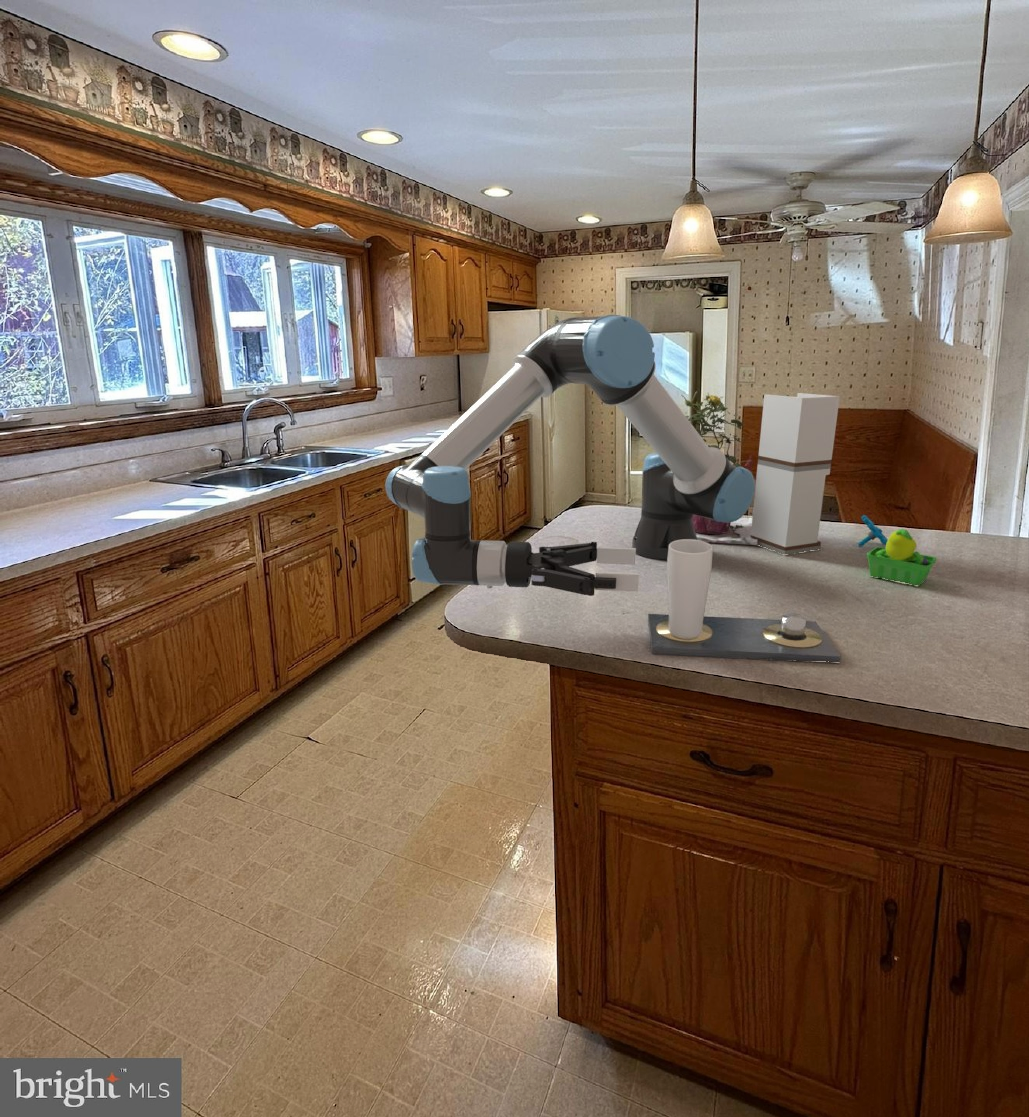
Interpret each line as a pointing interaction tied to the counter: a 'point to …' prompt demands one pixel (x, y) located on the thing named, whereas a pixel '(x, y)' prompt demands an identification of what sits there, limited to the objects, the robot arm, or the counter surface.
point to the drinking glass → (688, 586)
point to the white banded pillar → (793, 470)
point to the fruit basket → (900, 560)
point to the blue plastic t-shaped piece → (872, 532)
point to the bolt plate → (746, 639)
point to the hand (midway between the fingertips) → (637, 568)
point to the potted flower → (741, 524)
